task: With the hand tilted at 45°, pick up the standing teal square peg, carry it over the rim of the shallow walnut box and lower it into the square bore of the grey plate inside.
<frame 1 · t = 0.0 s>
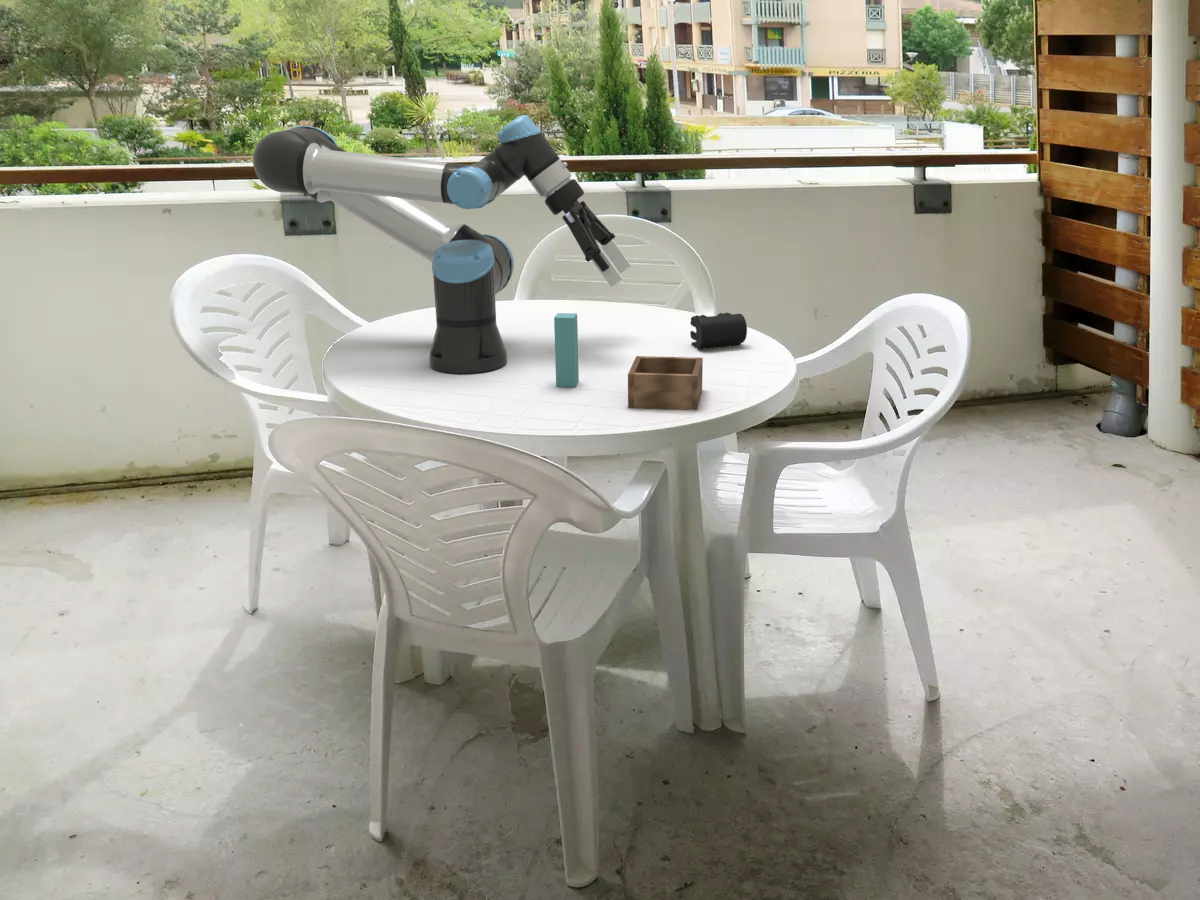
hand: (621, 276, 234), 15 cm above the table, tool tilted 35°, fingers open, 13 cm apart
peg: (567, 384, 217), on the table
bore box: (665, 398, 207), on the table
end cap: (717, 348, 241), on the table
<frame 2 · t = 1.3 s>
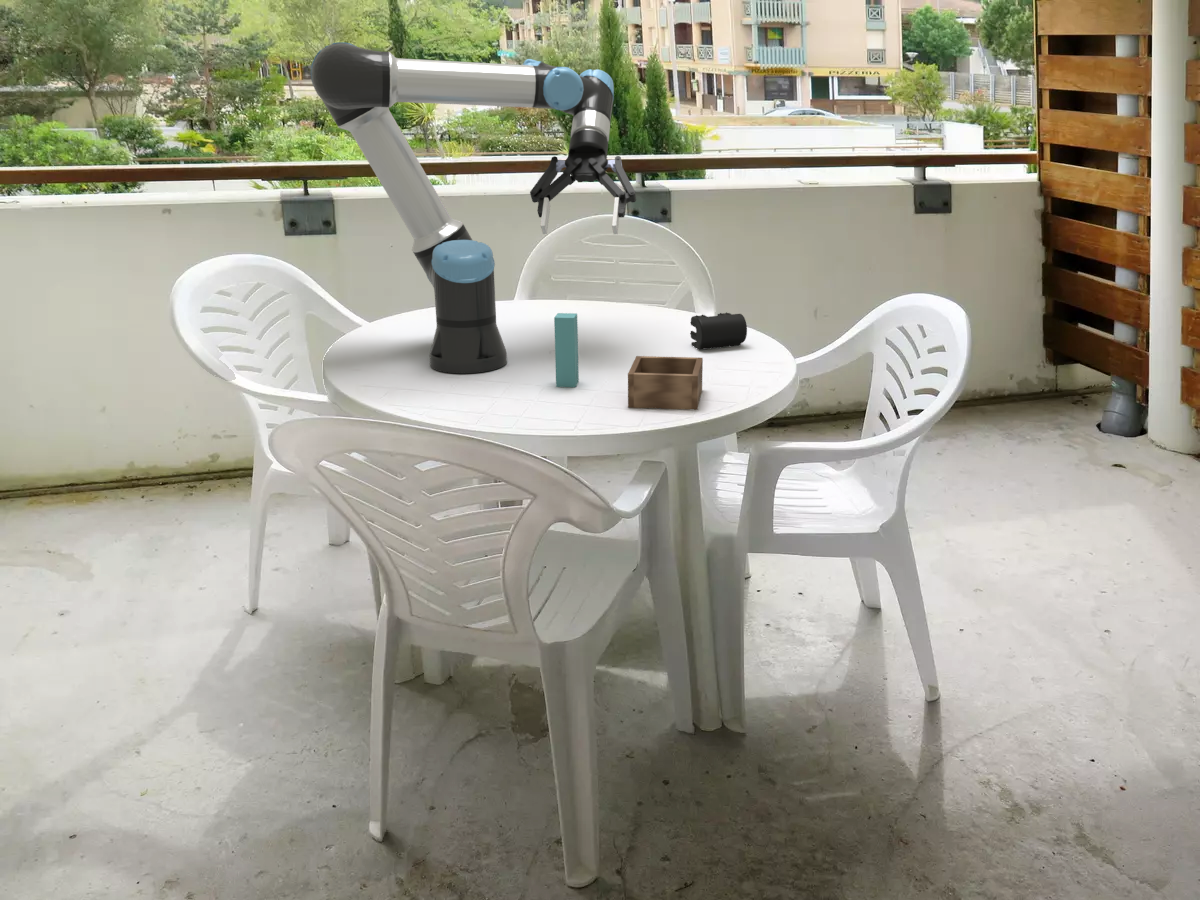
hand: (579, 230, 220), 26 cm above the table, tool tilted 45°, fingers open, 13 cm apart
nothing on the table moved.
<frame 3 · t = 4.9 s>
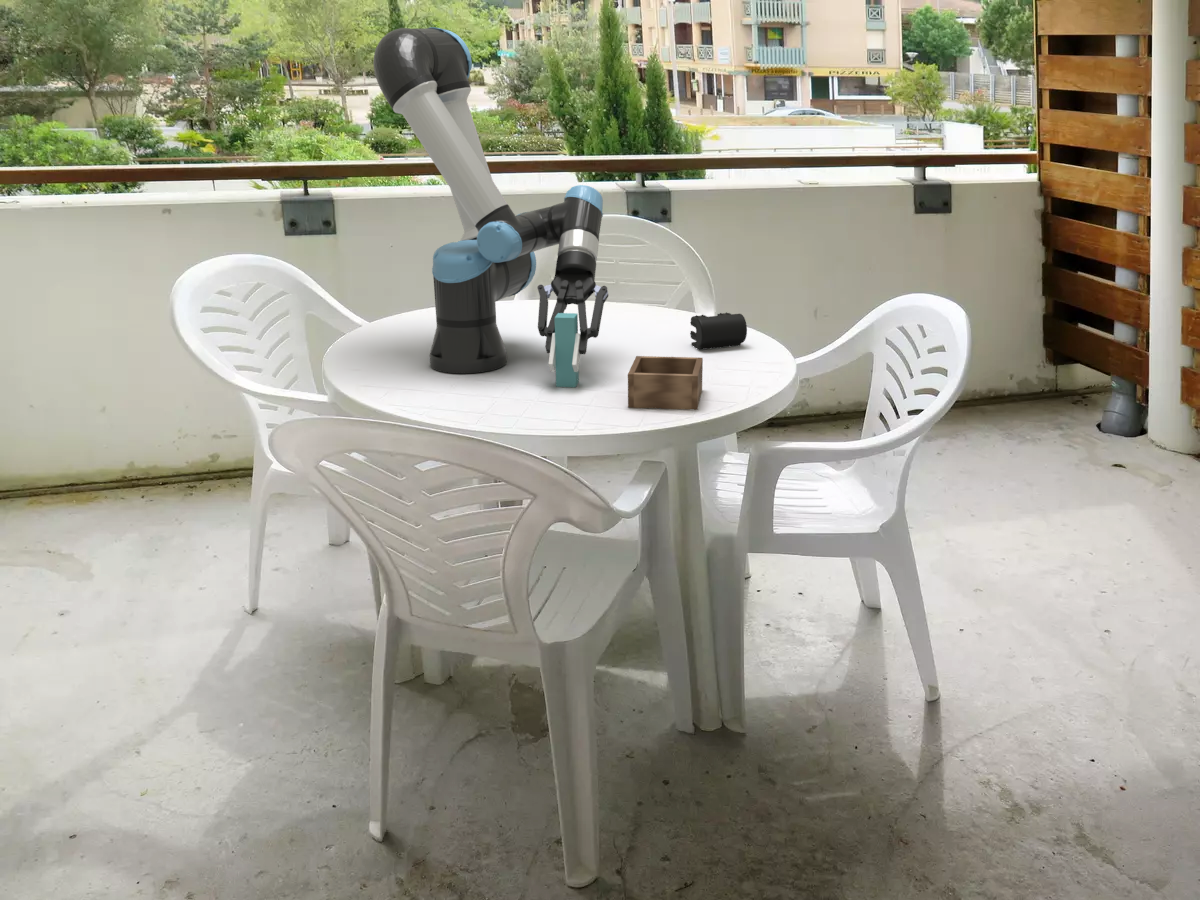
hand: (563, 367, 212), 4 cm above the table, tool tilted 45°, fingers closed on peg, 4 cm apart
peg: (567, 384, 217), on the table, touching gripper
everything else where it was.
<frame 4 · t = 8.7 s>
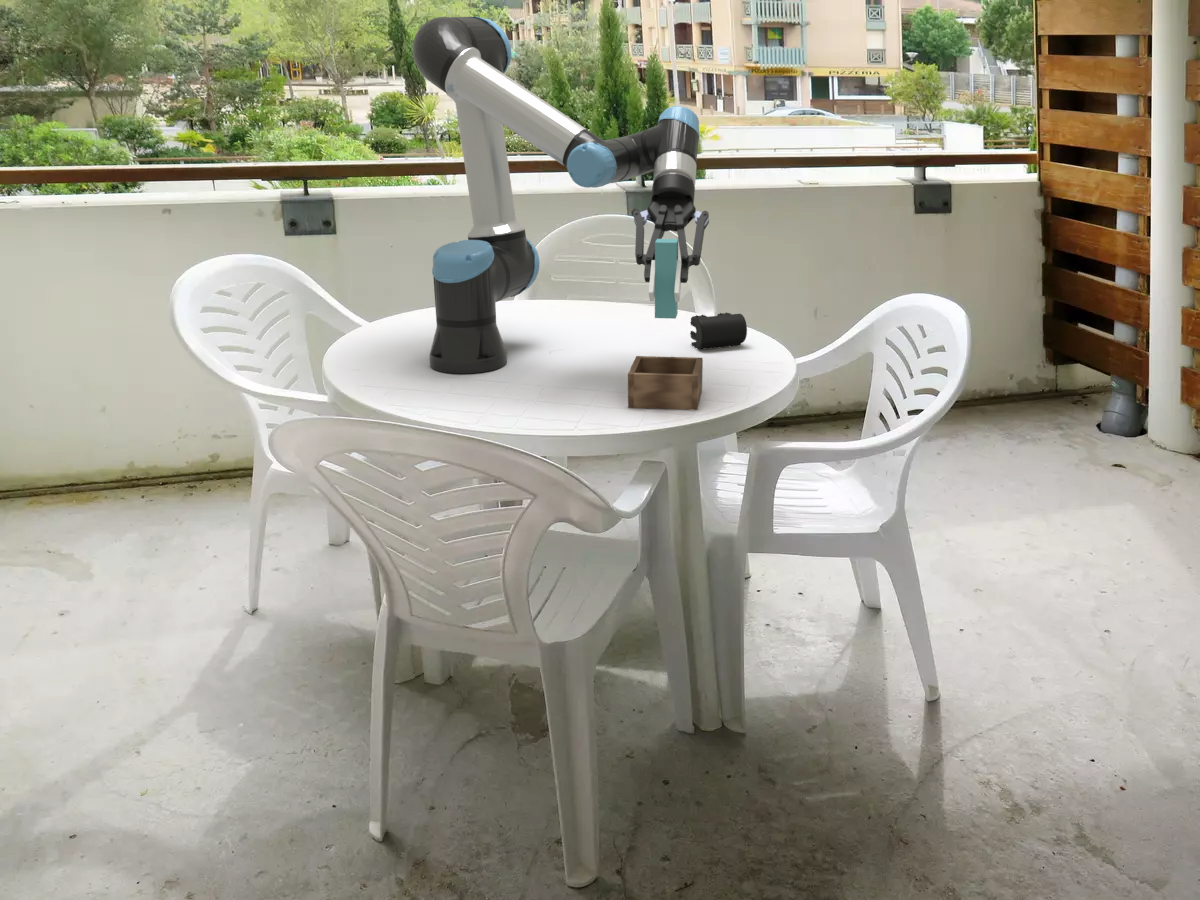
hand: (664, 296, 197), 19 cm above the table, tool tilted 45°, fingers closed on peg, 4 cm apart
peg: (666, 315, 202), point 15 cm above the table, touching gripper
everything else where it was.
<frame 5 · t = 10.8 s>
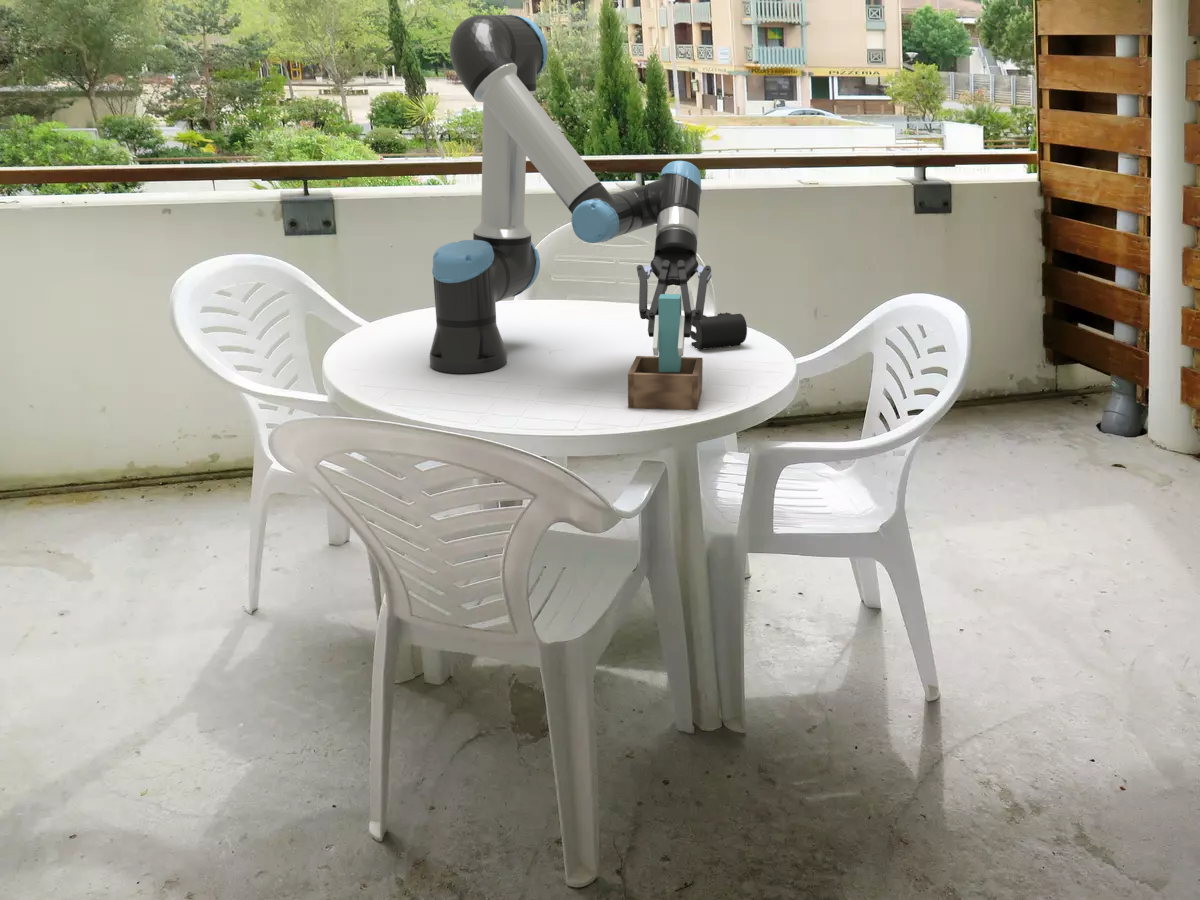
hand: (667, 351, 200), 10 cm above the table, tool tilted 45°, fingers closed on peg, 4 cm apart
peg: (670, 369, 205), point 5 cm above the table, touching gripper
everything else where it was.
when the fingers open (6 cm above the table, at t = 12.4 s): peg drops 1 cm, resting in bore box.
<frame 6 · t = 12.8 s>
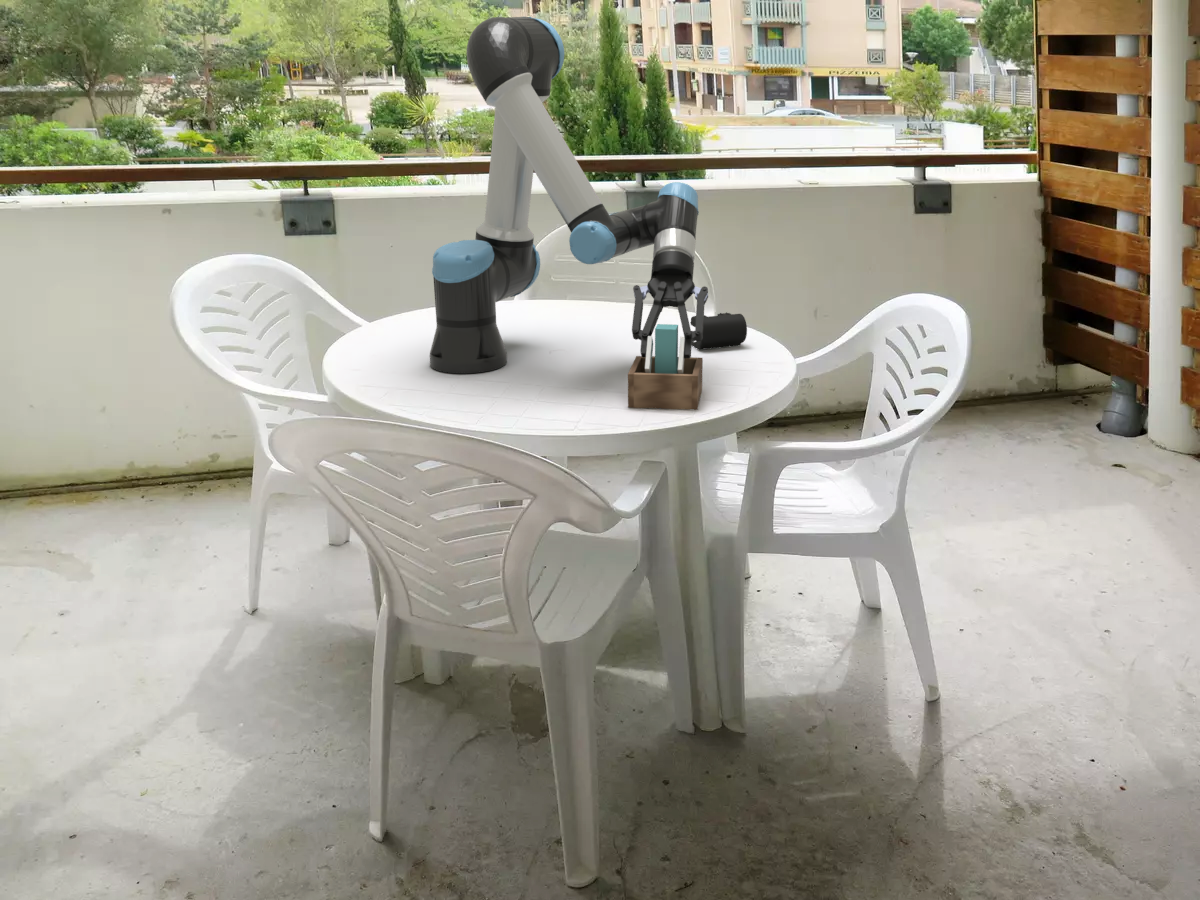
hand: (664, 372, 202), 6 cm above the table, tool tilted 45°, fingers open, 5 cm apart
peg: (666, 398, 207), resting in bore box
everything else where it was.
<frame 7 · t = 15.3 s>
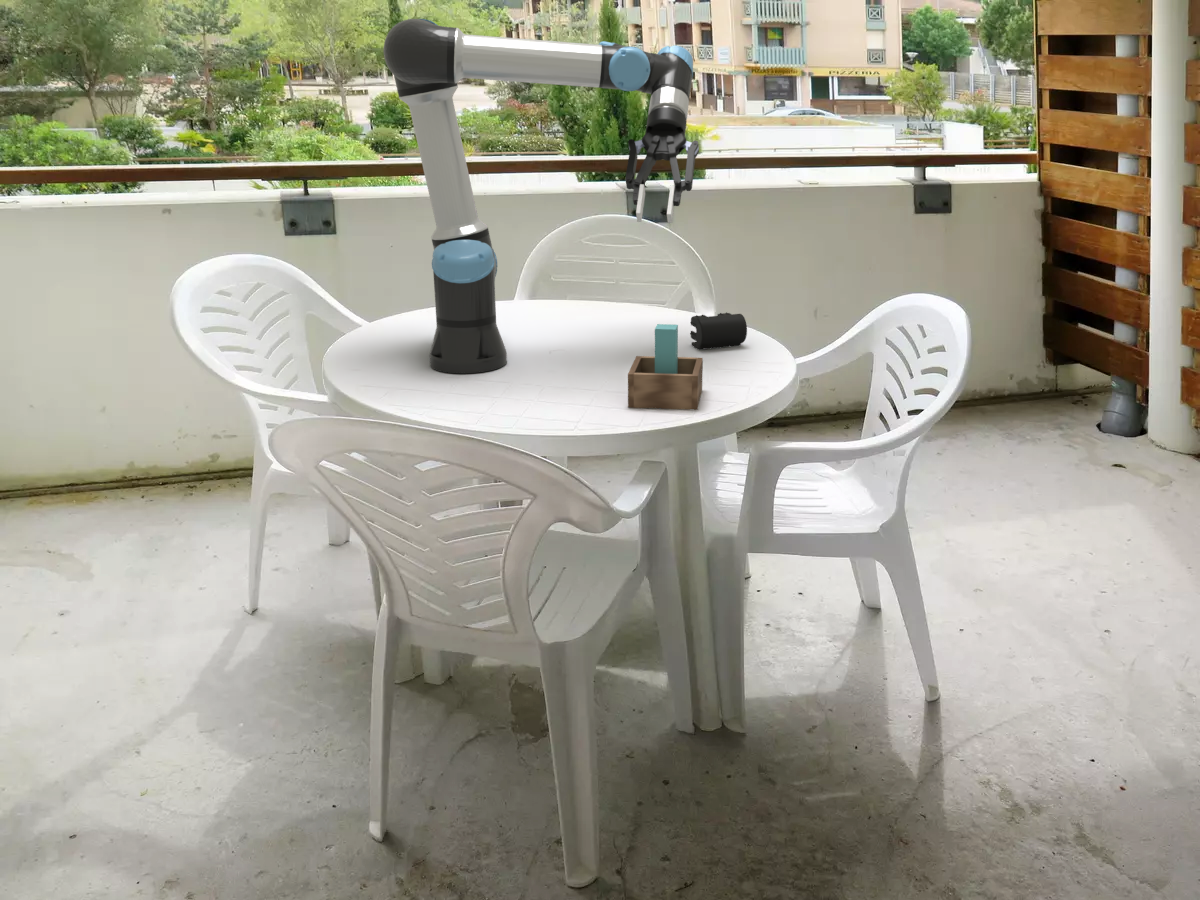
hand: (654, 217, 215), 29 cm above the table, tool tilted 45°, fingers open, 5 cm apart
nothing on the table moved.
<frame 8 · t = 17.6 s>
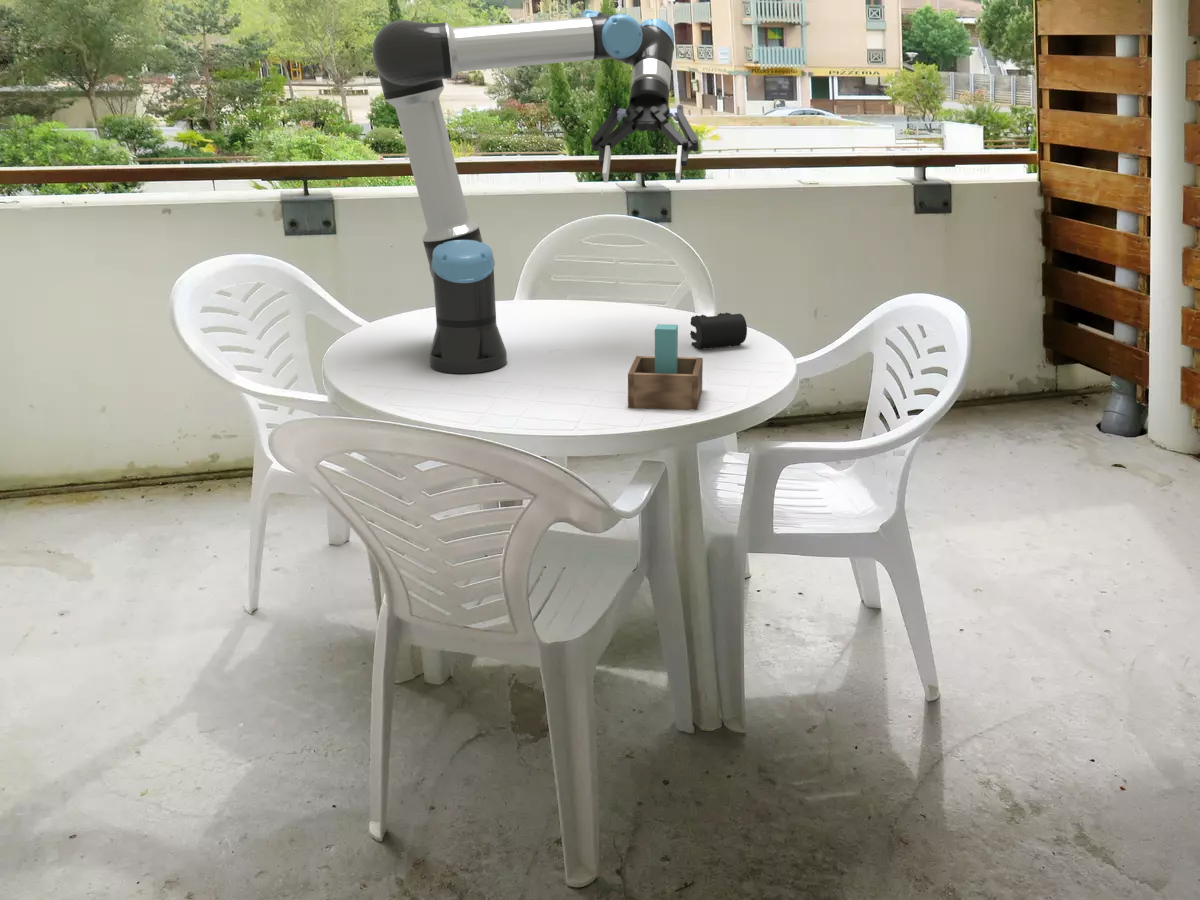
hand: (641, 178, 218), 36 cm above the table, tool tilted 45°, fingers open, 13 cm apart
nothing on the table moved.
at the end: peg 0.1 cm off-centre on the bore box, point 0.0 cm above the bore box's base; peg tilted 0°; the gripper is holding nothing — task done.
